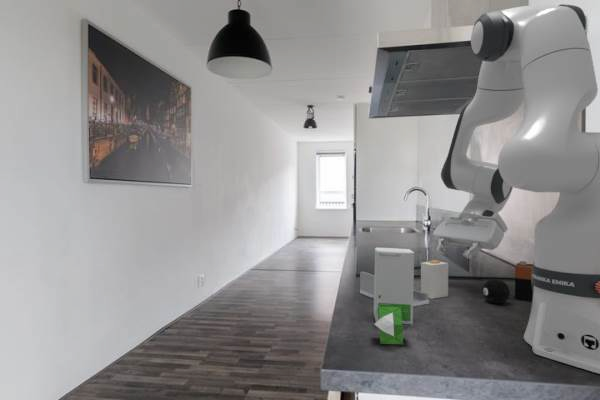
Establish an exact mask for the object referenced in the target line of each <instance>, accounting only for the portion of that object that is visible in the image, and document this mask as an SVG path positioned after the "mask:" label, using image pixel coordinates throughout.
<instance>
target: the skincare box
mask: <svg viewBox="0 0 600 400" xmlns="http://www.w3.org/2000/svg"><path fill="white" fill-rule="evenodd" d="M414 274H415V252H414V250H411V249H409V248H396V247H375V248H374V274H373V275H374V299H373V319H374V322H377V321H378V320H379V308H378V307H379V306H391V307H401V308H402V309H401V316H402V325H404V324H405V325H406V324H407V325H410V324H411V325H413V324H414V306H413V289H414V285H415V283H414V282H415V275H414ZM414 290H415V289H414ZM377 311H378V312H377ZM402 311H404V312H403V313H402ZM376 312H377V313H376ZM375 315H376V316H375ZM403 315H404V316H403ZM375 318H376V319H375ZM404 318H405V319H404ZM404 320H405V321H406V322H405V321H404ZM408 320H409V321H408ZM407 322H408V323H407ZM403 323H404V324H403Z"/></svg>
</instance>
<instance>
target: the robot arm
mask: <svg viewBox="0 0 600 400" xmlns="http://www.w3.org/2000/svg"><path fill="white" fill-rule="evenodd" d="M586 28H587V18H586V14H585V12H584V11H583V9H582V8H581V7H580V6H577V5H573V4H564V3H562V4H559V5H523V6H516V7H511V8H506V9H494V10H491V11H487V12H485V13H483V14H481V15H480V16H479V17H478V18H477V20H476V21H475V23H474V25H473V27H472V30H471V31H472V32H471V34H470V35H471V36H470V46H471V47H470V48H471V53H472V55H473V56H475V58H476V60H478V61H482V62H481V65H480V69H479V73H478V74H479V75H478V79H477V83H476V84H477V87H476V91H475V95H474V96H473V98H472V100H471V101H470V103H467V104H465V105H464V107H463V108H462V110H461V112H460V114H459V116H458V118H457V122H456V126H455V128H454V132H453V135H452V136H453V137H452V139H451V142H450V147H449V149H448V153H447V156H446V158H445V161H444V164H443V166H442V168H441V172H440V178H441V181H442V182H443V184H444V186H445V187H446V188H447V189H450V190H455V191H462V192H465V193H470V194H472V195H473V196H472V199H471V200H469V201H468V202H467V204H466V205H465V207H464V208H463V209H462V210H461V212H460V214H459V216H458V217H455V216H451V217H450V218H445V219H444V220H442V221H441V223H440V224H439V225H438V226H437V227H436V228H435V229H434V230H433V232H432V237H433V238H434V239H435V240H436V241H437V242H438V246H437V248H436V249H435V251H436V252H437V253H438V254H442V255H443V254H445V252H446V249H445V246H447V245H448V244H450V245H456V246H460V247H461V246H462V247H469V248H468V249H465V250H464V252H462V256H463V257H464V259H468V260H471V259H472V258H473V256H474V255H476V254H477V253H479V252H480V251H481V250H490V251H493V250H495V249H497V248H498V247H499V246H500V245H501V242H502V240H503V238H504V237H505V233H506V232H507V231H508V229H509V228H508V226H507V224H506V221H504V219H503V218H502V216H500V214H499V213H500V212H501V211H502V210H503V209H504V208H505V205H506V204H507V202H508V200H509V199H510V197H511V194H512V191H513V188H515V189H518V190H522V191H528V192H531V193H532V192H533V193H559V195H558V199H557V202H556V204H555V206H554V208H553V209H552V211H551V212H549V213H548V214H547V215H545V216H544V217H541V219H539V220H538V222H537V223H536V224H535V227H534V258H533V260H534V261H533V262H534V265H533V266H532V274H531V285H532V291H533V300H532V301H531V307H530V313H529V319H528V323H527V326H526V329H525V332H524V334H523V340H524V341H525V342H526V343H527V344H529V345H530V346H531V347H532V353H533V354H535V355H538V356H541V357H543V358H546V359H550V360H553V361H556V362H558V363H559V362H560V363H563V364H566V365H569V366H573V367H576V368H579V369H583V370H586V371H590V372H592V373H594V374H595V373H596V374H599V375H600V132H597V131H596V132H592V131H591V132H588V131H581V130H580V129H579V125H578V124H579V123H578V121H579V115H580V112H583V110H585V109H586V108H587V107H589V106H590V105H591V104H592V103H593V102H594V100H595V99H596V97H597V96H598V89H599V88H598V84H597V77H596V72H595V67H594V62H593V56H592V52H591V46H590V42H589V38H588V36H587V33H586V30H587V29H586ZM523 101H524V102H523ZM523 103H524V114H523V115H524V116H523V119H522V123H521V124H520V127H519V128H518V131H517V132H516V133H515V134H514V135H513V136H512V137H511V138H509V139H508V140H507V141H506V142H505V144H504V145H502V148H501V149H500V152H499V154H498V162H497V164H496V163H490V162H487V161H486V162H485V161H481V160H476V159H471V158H469V157H468V156H467V153H468V150H469V147H470V143H471V140H472V137H473V134H474V131H475V130H476V129H477V128H478V127H480V126H484V125H488V124H493V123H497V122H500V121H504V120H506V119H508V118H510V117H512V116H513V115H514V114H515V113H517V112H518V110H519V109H520V108H521V106H522V104H523Z"/></svg>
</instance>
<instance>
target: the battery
mask: <svg viewBox="0 0 600 400" xmlns="http://www.w3.org/2000/svg"><path fill="white" fill-rule="evenodd" d="M533 265H534V261H533V263H527V261H522V260H520V261H519V262H517V263H516V265H515V266H514V298H515V300H516V299H517V300H520V301H528V302H532V300H533V291H532V285H531V274H532V266H533Z"/></svg>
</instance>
